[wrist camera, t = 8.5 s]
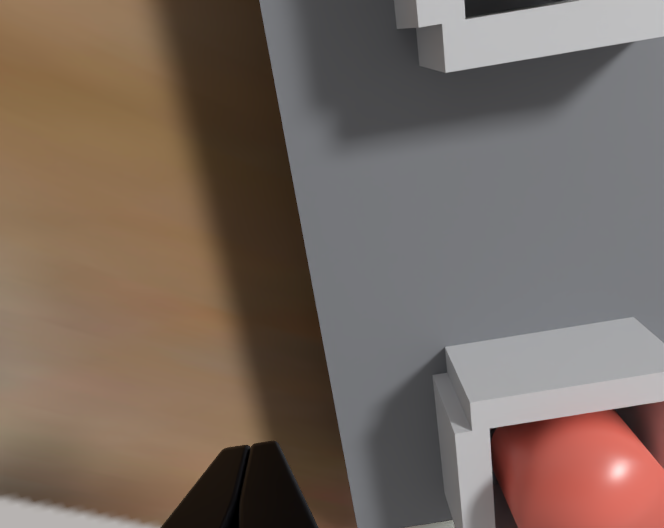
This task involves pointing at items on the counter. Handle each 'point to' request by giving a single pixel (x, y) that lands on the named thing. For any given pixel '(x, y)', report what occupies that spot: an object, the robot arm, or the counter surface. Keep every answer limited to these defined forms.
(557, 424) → the red plunger
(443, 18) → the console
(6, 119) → the counter surface
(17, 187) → the counter surface
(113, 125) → the counter surface
